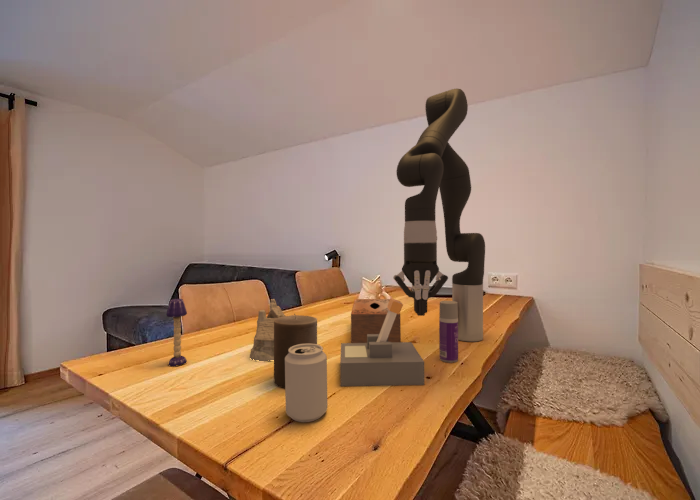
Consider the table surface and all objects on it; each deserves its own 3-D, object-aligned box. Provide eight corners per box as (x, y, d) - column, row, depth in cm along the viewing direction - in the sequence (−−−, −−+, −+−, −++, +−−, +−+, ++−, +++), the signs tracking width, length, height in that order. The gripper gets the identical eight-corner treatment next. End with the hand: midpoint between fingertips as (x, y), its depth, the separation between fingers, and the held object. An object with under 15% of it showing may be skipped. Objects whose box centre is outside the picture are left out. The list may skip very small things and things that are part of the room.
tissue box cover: (400, 348, 97) (400, 314, 97) (351, 347, 98) (350, 314, 98) (394, 326, 123) (393, 299, 123) (354, 325, 124) (354, 299, 123)
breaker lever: (372, 345, 80) (390, 297, 80) (381, 349, 80) (399, 301, 80) (373, 351, 76) (393, 300, 76) (383, 355, 76) (403, 304, 76)
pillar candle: (280, 392, 68) (280, 320, 68) (269, 376, 77) (269, 311, 77) (324, 383, 73) (324, 315, 73) (308, 368, 82) (308, 307, 81)
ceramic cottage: (240, 358, 89) (243, 302, 88) (274, 343, 104) (277, 295, 104) (291, 369, 83) (295, 310, 83) (320, 351, 98) (323, 301, 98)
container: (459, 363, 84) (459, 304, 83) (440, 362, 85) (439, 303, 84) (457, 356, 88) (456, 300, 88) (438, 355, 89) (438, 300, 89)
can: (287, 404, 63) (286, 342, 63) (327, 402, 64) (326, 340, 64) (283, 426, 56) (282, 355, 56) (327, 423, 57) (326, 353, 56)
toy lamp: (192, 362, 87) (190, 298, 86) (176, 368, 82) (174, 301, 82) (179, 359, 89) (177, 297, 88) (163, 365, 84) (161, 300, 84)
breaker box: (341, 362, 85) (340, 331, 85) (411, 361, 85) (411, 330, 85) (340, 386, 71) (340, 349, 71) (424, 384, 71) (424, 347, 71)
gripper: (443, 241, 82) (443, 311, 82) (389, 241, 81) (390, 312, 82) (453, 240, 74) (453, 318, 74) (394, 241, 74) (394, 319, 74)
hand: (420, 314), depth 78 cm, fingers closed
